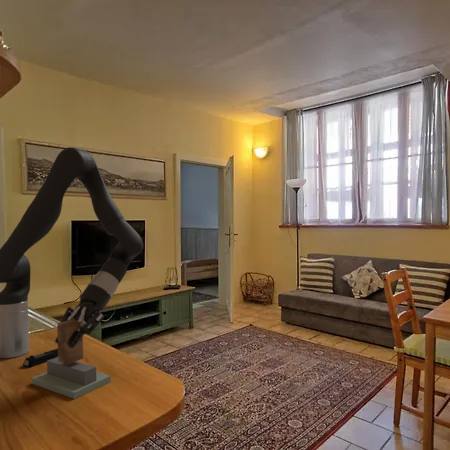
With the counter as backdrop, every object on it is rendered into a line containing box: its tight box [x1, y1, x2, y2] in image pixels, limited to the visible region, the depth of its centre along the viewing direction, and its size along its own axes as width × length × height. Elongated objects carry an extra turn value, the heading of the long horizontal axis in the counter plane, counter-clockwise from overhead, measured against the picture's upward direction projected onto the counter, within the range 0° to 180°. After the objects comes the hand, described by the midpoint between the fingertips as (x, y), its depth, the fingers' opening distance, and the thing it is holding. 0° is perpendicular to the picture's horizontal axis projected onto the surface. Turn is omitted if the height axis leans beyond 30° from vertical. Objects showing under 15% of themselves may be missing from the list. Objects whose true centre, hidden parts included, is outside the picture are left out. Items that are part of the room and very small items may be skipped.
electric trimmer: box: [22, 348, 58, 369], centre depth 115 cm, size 4×16×3 cm, turn 144°
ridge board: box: [31, 357, 112, 400], centre depth 96 cm, size 18×11×5 cm, turn 58°
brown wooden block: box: [56, 319, 84, 364], centre depth 97 cm, size 4×4×10 cm
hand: (63, 344), depth 95 cm, fingers closed on brown wooden block, 4 cm apart
